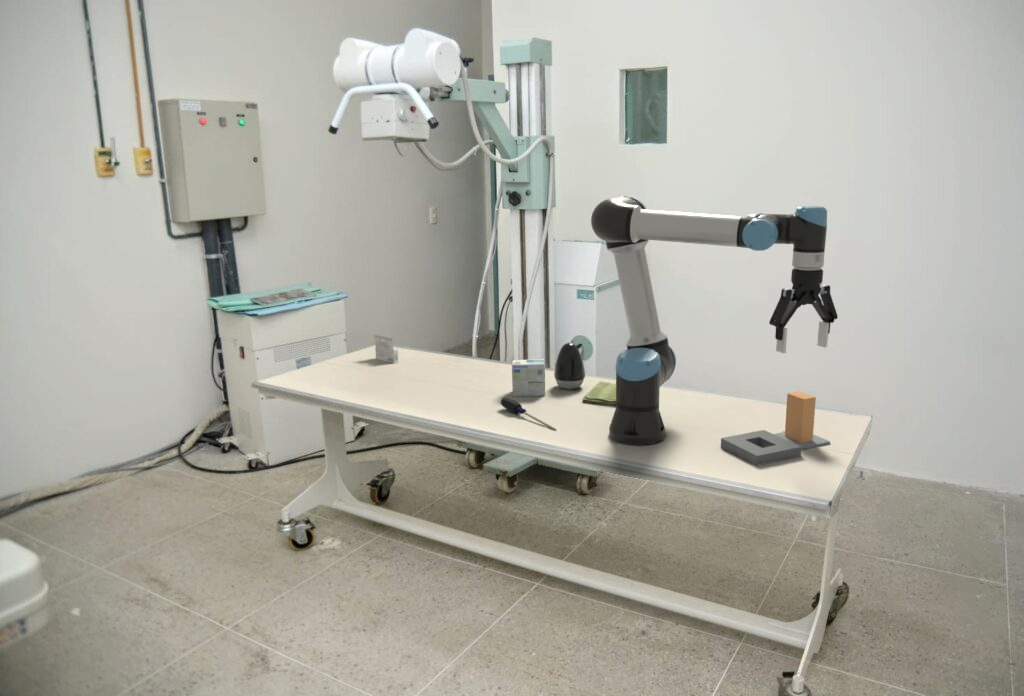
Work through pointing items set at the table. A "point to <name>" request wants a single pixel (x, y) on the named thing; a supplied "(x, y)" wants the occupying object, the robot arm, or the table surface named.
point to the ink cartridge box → (385, 349)
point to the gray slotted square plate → (750, 450)
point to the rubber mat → (816, 442)
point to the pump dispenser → (569, 367)
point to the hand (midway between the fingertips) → (801, 349)
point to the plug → (800, 416)
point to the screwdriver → (519, 409)
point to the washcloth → (602, 394)
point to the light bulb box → (528, 377)
